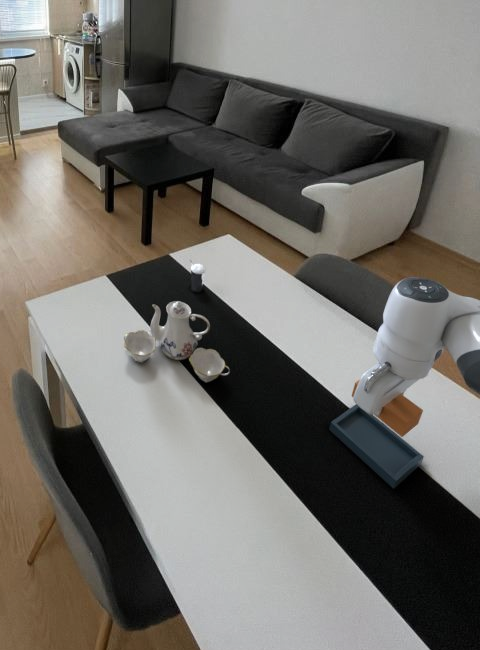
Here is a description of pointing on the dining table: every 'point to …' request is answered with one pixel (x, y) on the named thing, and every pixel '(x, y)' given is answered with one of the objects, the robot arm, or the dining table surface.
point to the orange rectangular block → (399, 414)
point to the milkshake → (197, 276)
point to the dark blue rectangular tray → (376, 445)
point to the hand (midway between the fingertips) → (385, 403)
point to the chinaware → (176, 341)
